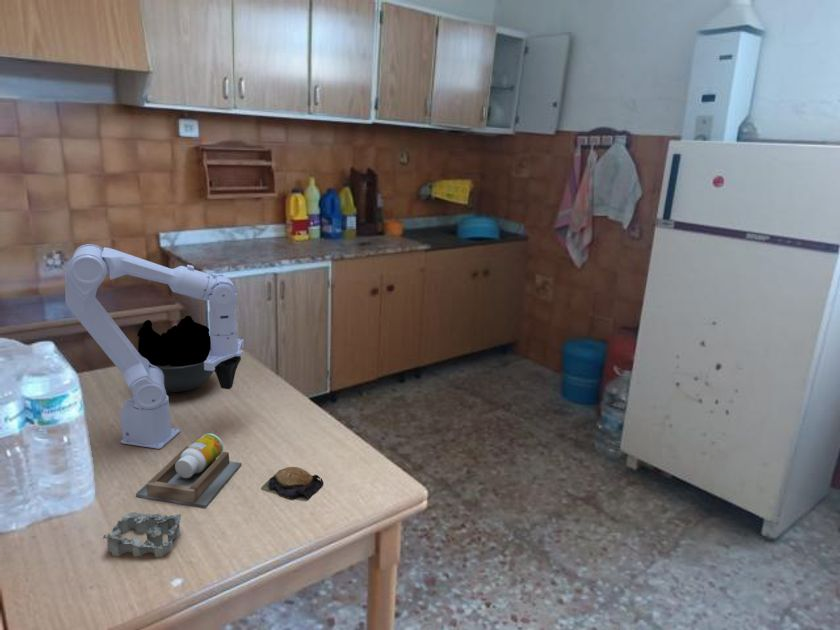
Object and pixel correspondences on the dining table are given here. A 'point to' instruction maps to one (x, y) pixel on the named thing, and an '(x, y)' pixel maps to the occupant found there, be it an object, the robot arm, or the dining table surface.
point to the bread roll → (293, 484)
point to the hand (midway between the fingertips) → (226, 387)
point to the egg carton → (144, 524)
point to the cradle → (190, 483)
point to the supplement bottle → (199, 455)
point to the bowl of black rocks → (177, 353)
